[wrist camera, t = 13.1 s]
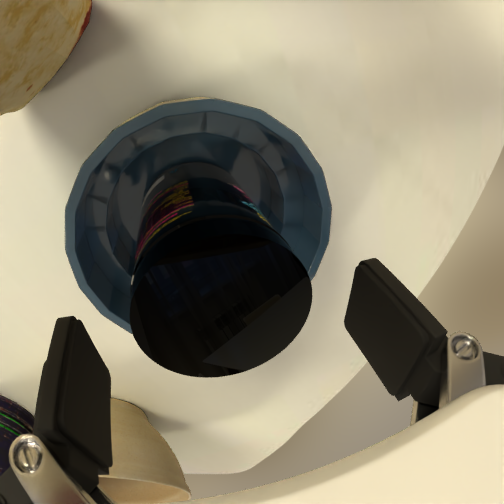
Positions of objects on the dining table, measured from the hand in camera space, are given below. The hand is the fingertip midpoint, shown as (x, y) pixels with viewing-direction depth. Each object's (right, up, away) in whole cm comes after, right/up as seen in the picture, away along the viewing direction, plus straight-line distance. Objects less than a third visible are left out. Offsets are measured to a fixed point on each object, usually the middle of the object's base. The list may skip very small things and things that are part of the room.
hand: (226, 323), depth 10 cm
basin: (-3, +5, +10) cm, 12 cm away
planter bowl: (-16, -17, +19) cm, 30 cm away
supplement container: (-3, +5, +10) cm, 11 cm away
